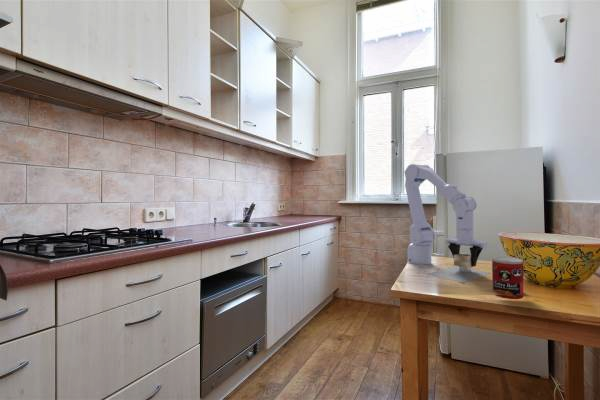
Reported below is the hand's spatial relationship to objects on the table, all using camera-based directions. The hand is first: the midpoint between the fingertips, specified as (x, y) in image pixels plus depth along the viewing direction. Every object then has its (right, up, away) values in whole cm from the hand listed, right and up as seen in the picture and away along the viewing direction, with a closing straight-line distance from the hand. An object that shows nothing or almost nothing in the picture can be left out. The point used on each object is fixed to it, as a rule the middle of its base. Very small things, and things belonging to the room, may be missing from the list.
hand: (465, 264), depth 113 cm
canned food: (0, -4, -24) cm, 24 cm away
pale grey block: (0, -3, 0) cm, 3 cm away
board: (-4, -4, -3) cm, 6 cm away
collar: (0, 0, 0) cm, 0 cm away
